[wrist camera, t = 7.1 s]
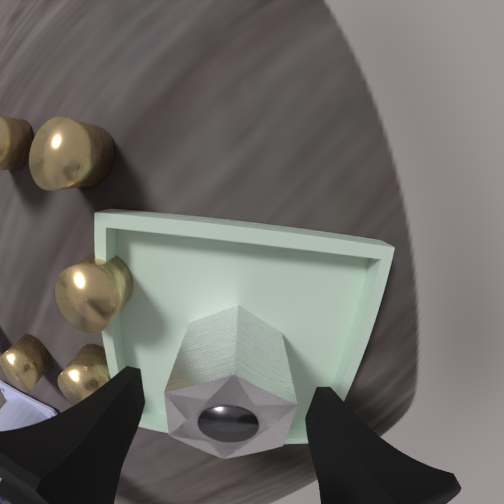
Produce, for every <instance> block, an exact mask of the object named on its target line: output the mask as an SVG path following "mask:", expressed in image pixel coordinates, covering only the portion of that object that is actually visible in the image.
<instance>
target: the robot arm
mask: <svg viewBox="0 0 504 504" xmlns="http://www.w3.org/2000/svg"><path fill="white" fill-rule="evenodd" d="M0 389H1V391H2V393H3V395H4V397H5V398H6V400H7V402H6V403H5V404H4V406H3V407H2V408H1V409H0V504H114V500H115V495H116V490H117V485H118V481H119V476H120V472H121V468H122V465H123V462H124V459H125V457H126V455H127V452H128V450H129V447H130V445H131V443H132V440H133V438H134V435H135V433H136V431H137V428H138V426H139V423H140V420H141V417H142V413H143V409H144V406H145V397H144V390H143V383H142V376H141V369H139V368H135V367H130V366H126V367H125V368H123V369H122V370H121V371H120V372H119V373H117V374H116V375H115V376H114V377H113V378H111V379H110V380H109V381H108V382H106V383H105V384H104V385H103V386H101V387H100V388H99V389H97V390H96V391H95V392H93V393H92V394H91V395H89V396H88V397H86V398H85V399H83V400H82V401H80V402H79V403H77V404H76V405H74V406H73V407H71V408H69V409H67V410H66V411H64V412H62V413H60V414H58V413H57V412H56V410H55V409H53V408H51V407H49V406H47V405H45V404H43V403H41V402H39V401H37V400H35V399H33V398H31V397H29V396H27V395H25V394H23V393H22V392H20V391H18V390H16V389H15V388H13V387H11V386H9V385H8V384H6V383H4V382H3V381H1V380H0ZM305 423H306V433H307V439H308V443H309V447H310V451H311V455H312V459H313V463H314V467H315V470H316V474H317V478H318V483H319V490H320V498H321V504H447V503H448V502H449V501H450V500H452V499H453V498H454V497H455V496H456V495H457V494H458V493H459V492H460V490H461V486H460V484H459V483H458V481H457V479H456V477H455V476H454V474H453V473H449V472H446V471H442V470H439V469H436V468H433V467H430V466H428V465H426V464H423V463H421V462H419V461H417V460H415V459H413V458H411V457H409V456H407V455H406V454H404V453H402V452H400V451H399V450H397V449H396V448H394V447H393V446H391V445H390V444H389V443H387V442H386V441H384V440H383V439H382V438H380V437H379V436H378V435H377V434H376V433H374V432H373V431H372V430H371V429H370V428H369V427H368V426H367V425H366V424H365V423H363V422H362V421H361V420H360V419H359V418H358V417H357V416H356V415H355V413H354V412H353V411H352V410H351V409H350V408H349V407H348V406H347V405H346V404H345V403H344V402H343V400H342V399H341V398H340V397H339V396H338V395H337V394H336V392H335V391H334V390H333V389H332V388H331V387H316V390H315V393H314V395H313V398H312V401H311V404H310V406H309V409H308V411H307V414H306V417H305Z"/></svg>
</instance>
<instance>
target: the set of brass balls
mask: <svg viewBox="0 0 504 504" xmlns="http://www.w3.org/2000/svg"><path fill="white" fill-rule="evenodd" d="M29 152H30V154H29ZM28 155H29V167H30V172H31V175H32V178H33V180H34V181H35V183H36V184H37V185H38V186H39V187H40V188H42V189H44V190H48V191H52V190H60V189H68V188H77V187H87V186H93V185H95V184H97V183H99V182H100V181H102V180H103V179H104V178H105V176H106V175H107V174H108V172H109V170H110V169H111V166H112V163H113V160H114V144H113V140H112V138H111V136H110V135H109V133H108V132H107V131H106V130H105V129H103V128H101V127H98V126H94V125H91V124H87V123H84V122H80V121H77V120H73V119H69V118H66V117H55V118H53V119H50V120H49V121H47V122H46V123H45V124H44V125H43V126H42V127H41V128H40V129H39V131H38V132H37V134H36V135H35V137H34V140H33V142H32V129H31V126H30V124H29V123H28V122H27V121H26V120H22V119H15V118H9V117H2V116H0V170H12V169H17V168H19V167H21V166H22V165H23V164H24V162H25V161H26V159H27V157H28ZM133 289H134V283H133V277H132V274H131V272H130V270H129V268H128V266H127V265H126V263H125V262H124V261H123V260H122V259H121V258H120V257H118V256H117V255H116V256H115V257H113V258H112V259H110V260H108V261H107V262H105V261H104V260H102V259H99V258H95V253H93V254H92V255H90V256H88V257H86V258H84V259H83V260H81V261H79V262H77V263H76V264H74V265H72V266H70V267H69V268H67V269H65V270H64V271H62V272H61V273H60V275H59V276H58V278H57V280H56V284H55V296H56V301H57V304H58V306H59V309H60V310H61V312H62V314H63V315H64V317H65V318H66V319H67V320H68V321H69V322H70V323H71V324H72V325H73V326H74V327H76V328H77V329H79V330H81V331H83V332H87V333H98V332H100V331H102V330H104V329H105V328H106V327H107V326H108V324H109V323H110V322H111V321H112V320H113V319H114V317H115V316H116V315H117V314H118V313H119V312H120V311H121V309H122V308H123V307H124V306H125V305H126V304H127V303H128V301H129V300H130V299H131V297H132V294H133ZM0 365H1V368H2V370H3V372H4V374H5V375H6V377H7V378H8V379H9V381H10V382H11V383H12V384H13V385H14V386H15V387H16V388H18V389H19V390H21V391H23V392H26V393H28V392H30V390H31V389H32V388H33V387H34V386H35V384H36V383H37V382H38V381H39V380H40V378H41V377H42V376H43V375H44V374H45V373H46V371H47V370H48V369H49V368H50V366H51V359H50V356H49V354H48V352H47V350H46V348H45V347H44V346H43V344H42V343H41V342H40V341H39V340H38V339H37V338H35V337H34V336H32V335H29V334H25V335H24V336H23V337H21V338H20V339H19V340H18V341H17V342H16V343H15V344H13V345H12V346H11V347H10V348H9V349H8V350H7V351H6V352H5V353H4V354H2V355H1V356H0ZM110 379H111V378H110V374H109V369H108V364H107V359H106V353H105V349H104V348H103V347H101V346H98V345H95V344H87V345H84V346H83V347H82V348H81V349H80V351H79V352H78V353H77V354H76V355H75V357H74V358H73V359H72V360H71V361H70V363H69V364H68V365H67V366H66V367H65V369H64V370H63V371H62V372H61V374H60V375H59V376H58V385H59V388H60V390H61V392H62V393H63V394H64V396H65V397H66V398H67V399H68V400H69V401H70V402H71V403H72V404H74V405H76V404H77V403H79V402H80V401H82V400H83V399H85V398H86V397H88V396H89V395H91V394H92V393H93V392H95V391H96V390H97V389H99V388H100V387H101V386H103V385H104V384H105V383H106V382H108V381H109V380H110Z"/></svg>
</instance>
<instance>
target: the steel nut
mask: <svg viewBox="0 0 504 504" xmlns="http://www.w3.org/2000/svg"><path fill="white" fill-rule="evenodd" d="M164 398H165V407H166V416H167V424H168V432H169V436H171V437H173V438H175V439H178V440H180V441H182V442H184V443H186V444H189V445H191V446H193V447H195V448H198V449H200V450H203V451H205V452H208V453H210V454H213V455H215V456H218V457H221V458H223V459H226V458H232V457H237V456H242V455H247V454H252V453H257V452H261V451H265V450H270V449H273V448H277V447H281V446H283V445H284V442H285V439H286V437H287V434H288V431H289V429H290V426H291V423H292V420H293V417H294V415H295V412H296V409H297V406H298V405H297V400H296V395H295V391H294V386H293V382H292V377H291V372H290V368H289V363H288V359H287V354H286V350H285V345H284V341H283V336H282V332H280V331H278V330H277V329H275V328H274V327H272V326H271V325H269V324H267V323H266V322H264V321H263V320H261V319H260V318H258V317H257V316H255V315H253V314H252V313H250V312H249V311H247V310H246V309H244V308H243V307H241V306H240V305H236V306H233V307H230V308H228V309H225V310H222V311H220V312H217V313H214V314H212V315H209V316H206V317H203V318H201V319H198V320H195V321H192V322H190V323H189V324H188V327H187V330H186V332H185V335H184V338H183V341H182V343H181V346H180V349H179V352H178V354H177V357H176V360H175V363H174V365H173V368H172V371H171V374H170V377H169V380H168V382H167V385H166V388H165V391H164Z"/></svg>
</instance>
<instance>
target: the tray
mask: <svg viewBox="0 0 504 504" xmlns="http://www.w3.org/2000/svg"><path fill="white" fill-rule="evenodd" d="M394 249H395V247H393V246H391V245H389V244H387V243H385V242H383V241H381V240H377V239H370V238H364V237H357V236H350V235H344V234H337V233H330V232H323V231H316V230H308V229H301V228H293V227H286V226H278V225H270V224H262V223H254V222H245V221H237V220H228V219H219V218H210V217H200V216H190V215H180V214H170V213H159V212H148V211H137V210H125V209H112V208H110V209H106V210H102V211H98V212H95V258H99V259H102V260H104V261H105V262H107V261H108V260H110V259H112V258H113V257H115V256H116V255H117V256H118V257H120V258H121V259H122V260H123V261H124V262H125V263H126V265H127V266H128V268H129V270H130V272H131V274H132V277H133V283H134V289H133V294H132V297H131V299H130V300H129V301H128V303H127V304H126V305H125V306H124V307H123V308H122V309H121V311H120V312H119V313H118V314H117V315H116V316H115V317H114V319H113V320H112V321H111V322H110V323H109V324H108V326H107V327H106V328H105V329H104V330H102V336H103V342H104V348H105V353H106V359H107V364H108V369H109V374H110V378H113V377H114V376H115V375H116V374H117V373H119V372H120V371H121V370H122V369H123V368H125V367H126V366H130V367H135V368H139V369H141V376H142V383H143V390H144V397H145V406H144V409H143V413H142V417H141V420H140V423H139V427H143V428H147V429H151V430H156V431H161V432H165V433H169V432H168V424H167V416H166V407H165V398H164V391H165V388H166V385H167V382H168V380H169V377H170V374H171V371H172V368H173V365H174V363H175V360H176V357H177V354H178V352H179V349H180V346H181V343H182V341H183V338H184V335H185V332H186V330H187V327H188V324H189V323H190V322H192V321H195V320H198V319H201V318H203V317H206V316H209V315H212V314H214V313H217V312H220V311H222V310H225V309H228V308H230V307H233V306H236V305H240V306H241V307H243V308H244V309H246V310H247V311H249V312H250V313H252V314H253V315H255V316H257V317H258V318H260V319H261V320H263V321H264V322H266V323H267V324H269V325H271V326H272V327H274V328H275V329H277V330H278V331H280V332H282V336H283V341H284V345H285V350H286V354H287V359H288V363H289V368H290V372H291V377H292V382H293V386H294V391H295V395H296V400H297V405H298V406H297V409H296V412H295V415H294V417H293V420H292V423H291V426H290V429H289V431H288V434H287V437H286V439H285V442H284V444H302V443H308V439H307V433H306V423H305V417H306V414H307V411H308V409H309V406H310V404H311V401H312V398H313V395H314V393H315V390H316V387H331V388H332V389H333V390H334V391H335V392H336V394H337V395H338V396H339V397H340V398H341V399H342V400H343V402H344V400H345V398H346V396H347V393H348V391H349V389H350V386H351V384H352V382H353V379H354V377H355V375H356V372H357V370H358V367H359V365H360V362H361V359H362V357H363V354H364V351H365V349H366V346H367V343H368V340H369V337H370V335H371V332H372V329H373V326H374V323H375V320H376V316H377V313H378V310H379V307H380V303H381V300H382V297H383V293H384V289H385V286H386V282H387V278H388V274H389V271H390V267H391V262H392V258H393V254H394Z"/></svg>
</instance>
